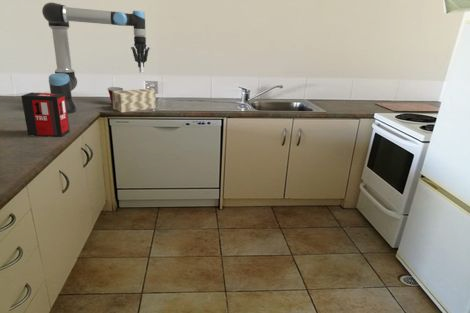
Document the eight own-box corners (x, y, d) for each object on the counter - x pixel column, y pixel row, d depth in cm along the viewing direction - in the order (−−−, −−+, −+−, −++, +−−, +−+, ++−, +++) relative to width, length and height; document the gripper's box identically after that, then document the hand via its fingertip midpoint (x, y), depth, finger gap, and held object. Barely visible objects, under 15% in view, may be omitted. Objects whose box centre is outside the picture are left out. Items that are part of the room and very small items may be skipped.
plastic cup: (114, 107, 235) (113, 89, 231) (105, 104, 241) (104, 87, 237) (127, 105, 243) (126, 88, 239) (118, 102, 249) (117, 86, 245)
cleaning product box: (28, 135, 166) (21, 95, 159) (37, 130, 175) (31, 92, 168) (62, 137, 167) (56, 97, 160) (69, 132, 175) (64, 93, 168)
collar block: (121, 112, 221) (120, 94, 217) (113, 109, 229) (111, 91, 225) (155, 108, 238) (155, 91, 234) (147, 105, 246) (146, 88, 242)
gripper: (133, 36, 215) (135, 73, 223) (151, 36, 223) (152, 72, 231) (127, 35, 220) (129, 72, 228) (145, 36, 228) (147, 71, 236)
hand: (141, 72), depth 230 cm, fingers closed
